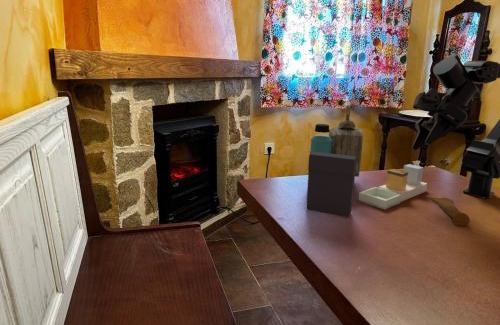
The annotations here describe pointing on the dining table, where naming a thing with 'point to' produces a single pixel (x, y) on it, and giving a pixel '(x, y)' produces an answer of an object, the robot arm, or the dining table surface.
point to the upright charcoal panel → (331, 183)
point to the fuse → (413, 174)
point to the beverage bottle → (321, 140)
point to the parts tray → (379, 198)
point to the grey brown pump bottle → (347, 140)
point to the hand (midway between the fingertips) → (419, 146)
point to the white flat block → (408, 190)
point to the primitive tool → (452, 211)
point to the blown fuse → (396, 179)
